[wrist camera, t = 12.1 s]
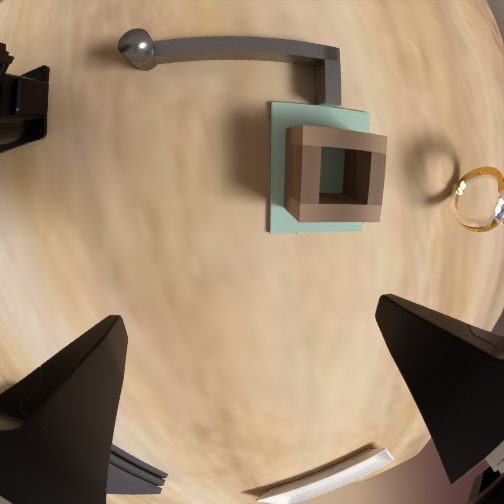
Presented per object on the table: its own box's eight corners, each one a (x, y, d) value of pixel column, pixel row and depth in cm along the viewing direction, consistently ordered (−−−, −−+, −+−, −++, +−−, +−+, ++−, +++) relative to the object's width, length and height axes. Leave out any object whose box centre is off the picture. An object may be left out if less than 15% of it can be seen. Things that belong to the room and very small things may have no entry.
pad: (269, 232, 22) (270, 234, 21) (271, 102, 18) (271, 101, 17) (359, 229, 23) (361, 231, 22) (367, 113, 19) (369, 113, 18)
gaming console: (169, 472, 38) (169, 493, 33) (90, 476, 40) (88, 492, 35) (40, 385, 26) (29, 410, 21) (-9, 405, 28) (-17, 421, 23)
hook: (132, 109, 16) (114, 103, 13) (135, 49, 15) (119, 31, 11) (330, 107, 18) (354, 102, 15) (328, 50, 16) (351, 35, 13)
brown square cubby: (283, 207, 21) (299, 222, 17) (285, 128, 18) (303, 125, 15) (353, 208, 21) (379, 222, 18) (358, 135, 19) (387, 136, 15)
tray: (390, 451, 49) (395, 461, 45) (284, 497, 52) (286, 506, 49) (380, 436, 42) (386, 449, 39) (251, 489, 45) (253, 501, 42)
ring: (444, 221, 24) (498, 250, 16) (432, 201, 23) (491, 227, 15) (472, 176, 22) (526, 194, 15) (462, 155, 21) (520, 169, 14)
